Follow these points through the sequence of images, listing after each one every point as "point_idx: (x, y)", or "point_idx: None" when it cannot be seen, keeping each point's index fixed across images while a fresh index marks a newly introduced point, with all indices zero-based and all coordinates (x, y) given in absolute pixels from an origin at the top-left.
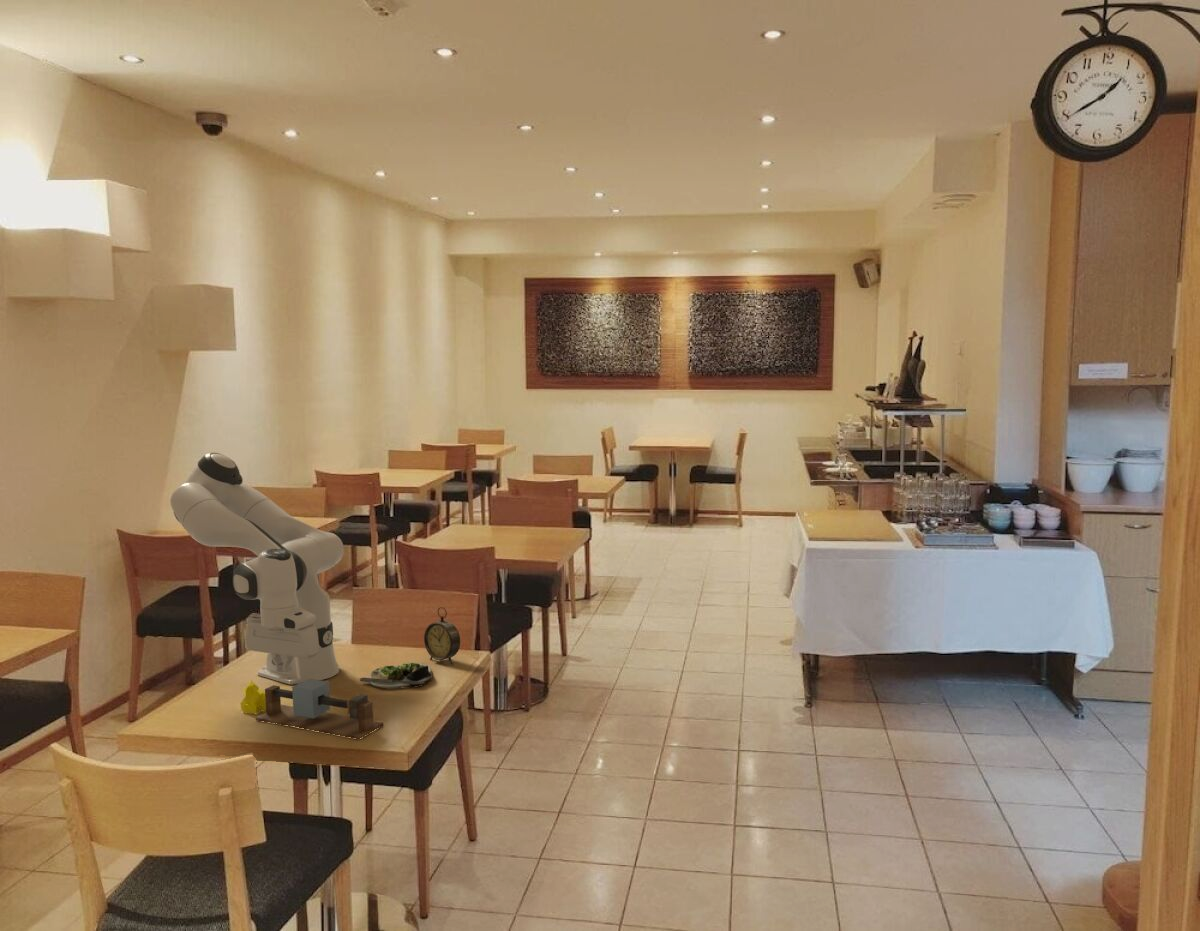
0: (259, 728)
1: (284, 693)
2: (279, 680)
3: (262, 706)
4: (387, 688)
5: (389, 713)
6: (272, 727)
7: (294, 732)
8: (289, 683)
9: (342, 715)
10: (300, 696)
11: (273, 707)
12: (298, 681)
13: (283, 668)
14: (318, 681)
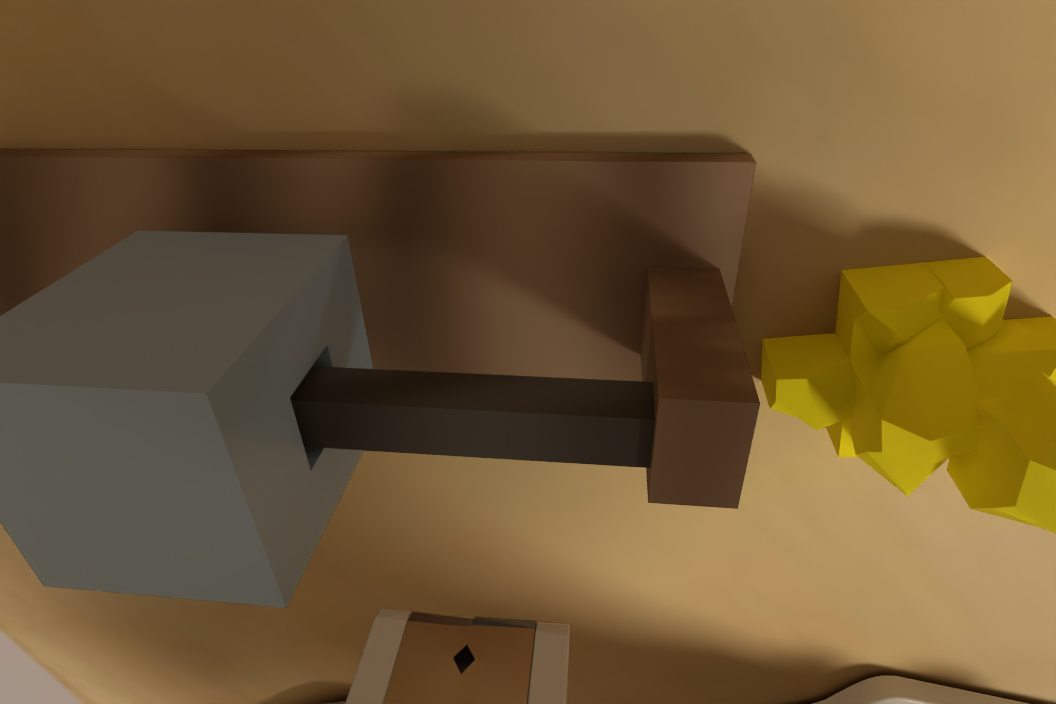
0: (593, 13)
1: (502, 403)
2: (988, 700)
3: (830, 355)
4: (334, 702)
5: None
6: (496, 85)
7: (242, 72)
8: (892, 680)
9: None
10: (150, 326)
11: (649, 309)
12: (843, 702)
13: (394, 665)
14: (133, 575)
